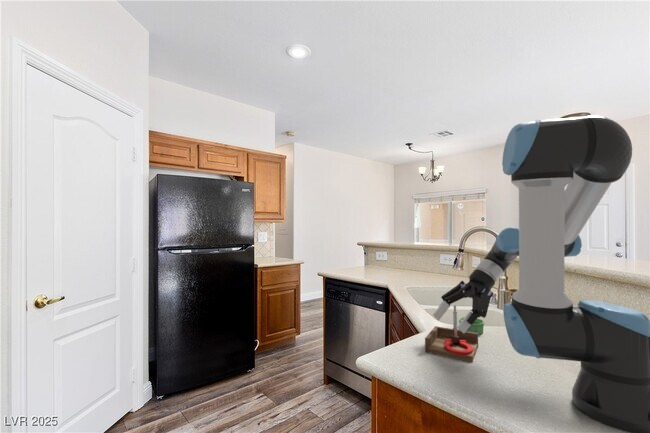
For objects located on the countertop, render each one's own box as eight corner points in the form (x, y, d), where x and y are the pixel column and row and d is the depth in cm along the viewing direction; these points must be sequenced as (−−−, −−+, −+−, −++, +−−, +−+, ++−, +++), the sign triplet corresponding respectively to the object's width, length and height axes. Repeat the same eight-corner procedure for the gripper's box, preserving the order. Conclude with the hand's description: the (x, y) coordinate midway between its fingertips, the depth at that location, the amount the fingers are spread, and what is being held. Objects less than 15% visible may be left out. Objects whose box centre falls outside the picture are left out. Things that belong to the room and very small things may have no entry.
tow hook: (476, 356, 94) (468, 343, 103) (475, 314, 94) (467, 305, 103) (446, 355, 96) (441, 342, 105) (446, 313, 96) (441, 304, 105)
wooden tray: (472, 362, 93) (472, 346, 93) (425, 352, 101) (425, 338, 101) (478, 346, 105) (477, 333, 105) (435, 338, 113) (435, 326, 113)
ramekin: (459, 334, 117) (458, 322, 117) (458, 326, 126) (458, 315, 126) (485, 337, 114) (485, 325, 114) (483, 329, 122) (483, 318, 122)
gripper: (522, 290, 94) (481, 345, 91) (468, 277, 119) (433, 319, 115) (507, 273, 93) (464, 328, 90) (455, 264, 118) (420, 306, 114)
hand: (447, 323), depth 102 cm, fingers open, 13 cm apart
